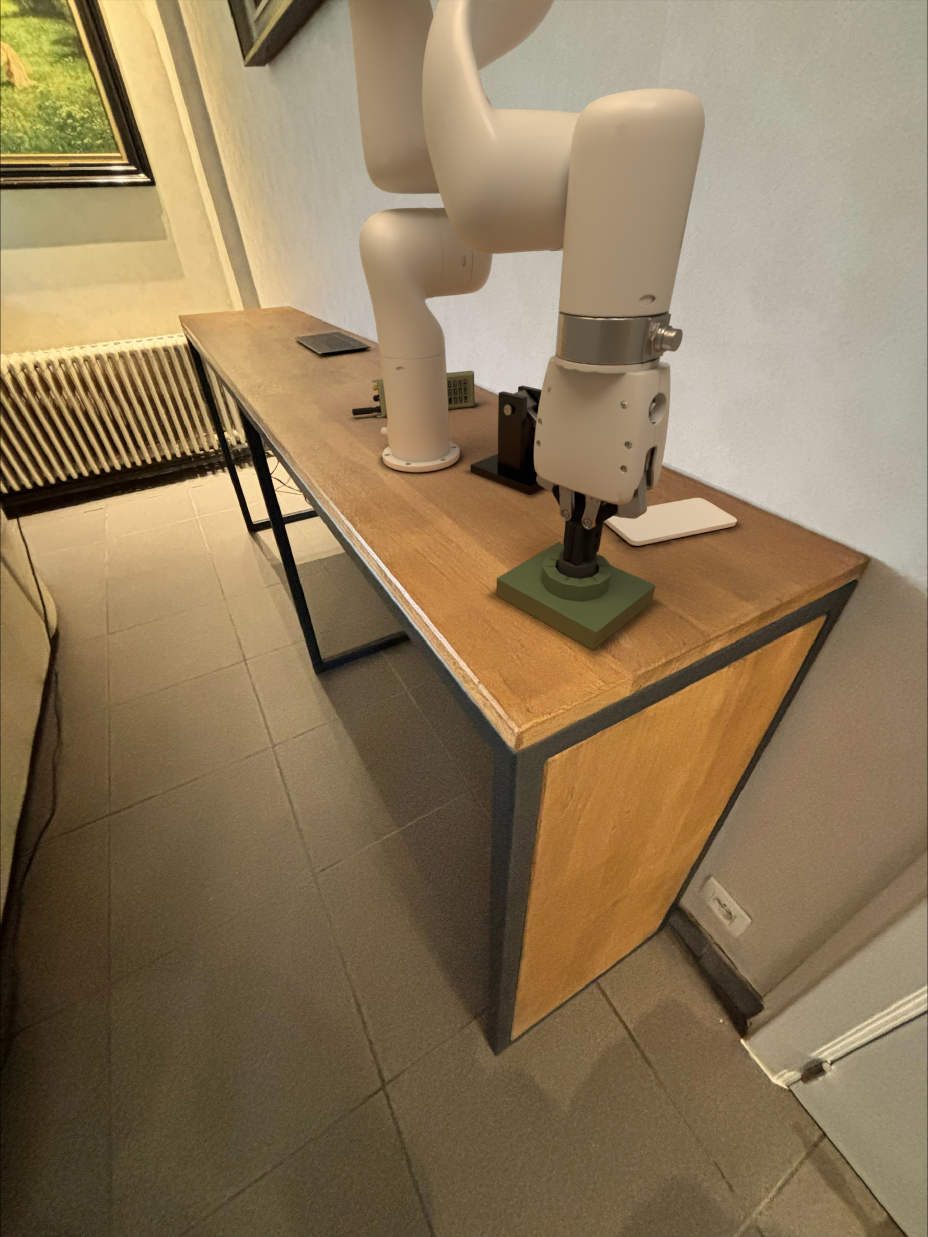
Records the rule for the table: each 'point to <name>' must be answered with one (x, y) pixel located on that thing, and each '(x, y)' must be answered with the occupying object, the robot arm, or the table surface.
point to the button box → (575, 596)
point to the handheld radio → (457, 391)
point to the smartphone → (671, 521)
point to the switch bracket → (513, 444)
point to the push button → (577, 567)
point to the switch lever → (529, 407)
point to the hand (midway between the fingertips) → (579, 557)
